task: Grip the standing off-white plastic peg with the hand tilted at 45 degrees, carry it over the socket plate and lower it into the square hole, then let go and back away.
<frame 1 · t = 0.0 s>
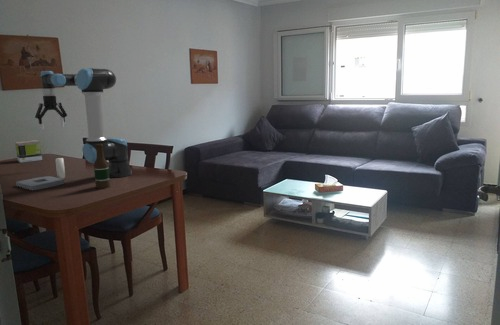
hand: (52, 128, 254), 28 cm above the table, tool pointing down, fingers open, 13 cm apart
peg: (61, 177, 236), on the table
tea box: (30, 161, 292), on the table
beer bottle: (103, 187, 213), on the table
socket plate: (40, 184, 219), on the table
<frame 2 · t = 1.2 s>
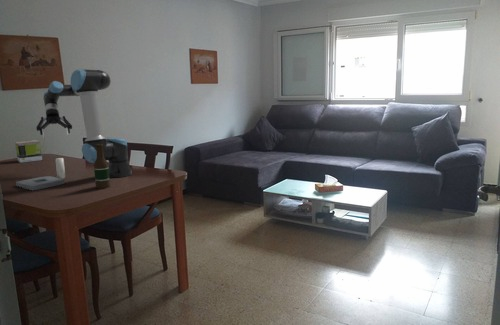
hand: (56, 137, 240), 24 cm above the table, tool tilted 45°, fingers open, 13 cm apart
nothing on the table moved.
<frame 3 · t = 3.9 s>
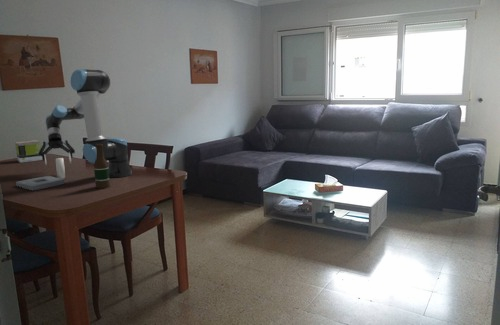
hand: (58, 163, 237), 9 cm above the table, tool tilted 45°, fingers open, 13 cm apart
nothing on the table moved.
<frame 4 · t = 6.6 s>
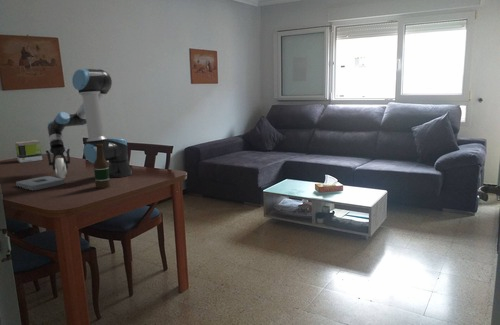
hand: (61, 173, 232), 4 cm above the table, tool tilted 45°, fingers closed on peg, 4 cm apart
peg: (61, 177, 236), on the table, touching gripper
everything else where it was.
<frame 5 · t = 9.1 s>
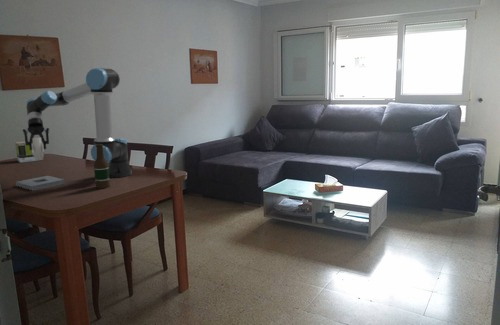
hand: (38, 153, 215), 18 cm above the table, tool tilted 45°, fingers closed on peg, 4 cm apart
peg: (39, 158, 219), point 15 cm above the table, touching gripper
everything else where it was.
when the fingers open (5 cm above the table, at t = 12.0 s): peg stays where it is, resting in socket plate.
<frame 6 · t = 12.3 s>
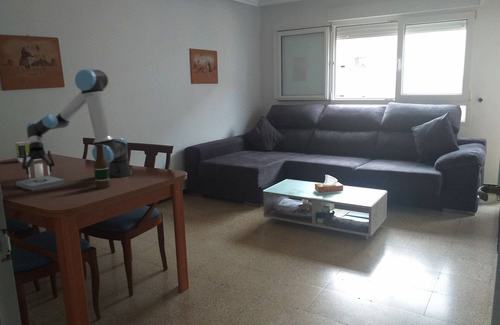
hand: (39, 177, 215), 5 cm above the table, tool tilted 45°, fingers open, 9 cm apart
peg: (40, 184, 219), resting in socket plate
everything else where it was.
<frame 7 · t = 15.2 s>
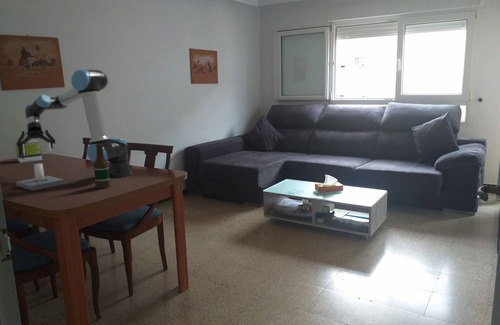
hand: (37, 153, 225), 16 cm above the table, tool tilted 45°, fingers open, 13 cm apart
nothing on the table moved.
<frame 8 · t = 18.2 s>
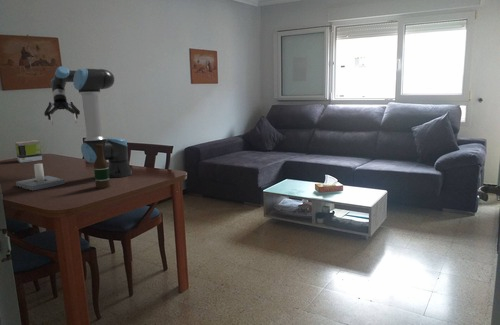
hand: (64, 122, 241), 33 cm above the table, tool tilted 45°, fingers open, 13 cm apart
nothing on the table moved.
at the end: peg 0.1 cm off-centre on the socket plate, point 0.0 cm above the socket plate's base; peg tilted 0°; the gripper is holding nothing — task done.
